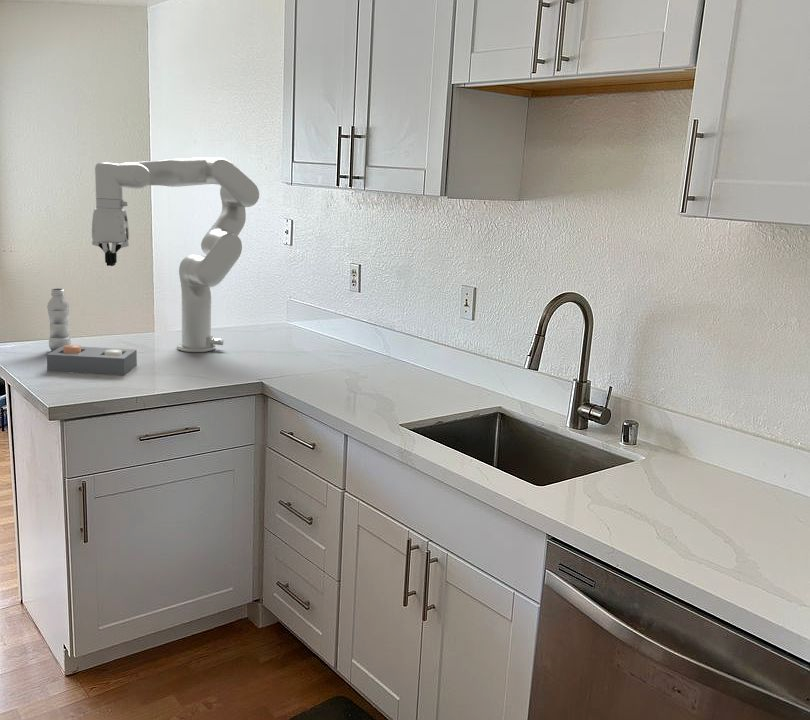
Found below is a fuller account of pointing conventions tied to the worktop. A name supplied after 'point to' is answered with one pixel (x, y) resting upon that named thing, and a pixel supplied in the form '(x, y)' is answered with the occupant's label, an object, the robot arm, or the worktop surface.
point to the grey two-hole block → (92, 361)
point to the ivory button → (113, 352)
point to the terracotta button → (72, 349)
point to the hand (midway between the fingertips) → (111, 265)
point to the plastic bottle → (58, 320)
